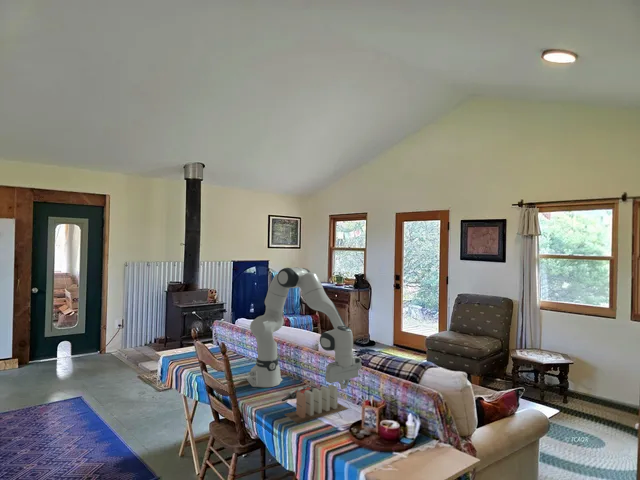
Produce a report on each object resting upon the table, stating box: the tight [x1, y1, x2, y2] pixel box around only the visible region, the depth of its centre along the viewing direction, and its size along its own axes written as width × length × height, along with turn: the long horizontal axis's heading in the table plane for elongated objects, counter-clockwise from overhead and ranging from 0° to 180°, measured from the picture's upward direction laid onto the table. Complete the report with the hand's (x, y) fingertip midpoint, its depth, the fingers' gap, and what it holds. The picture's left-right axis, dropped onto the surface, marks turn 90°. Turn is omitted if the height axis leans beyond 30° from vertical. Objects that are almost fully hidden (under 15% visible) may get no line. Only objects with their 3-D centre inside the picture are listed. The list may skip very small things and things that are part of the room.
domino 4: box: [320, 386, 330, 411], centre depth 201 cm, size 2×5×10 cm, turn 35°
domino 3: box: [312, 387, 322, 413], centre depth 198 cm, size 2×5×10 cm, turn 35°
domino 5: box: [327, 383, 338, 409], centre depth 204 cm, size 2×5×10 cm, turn 34°
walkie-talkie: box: [281, 385, 313, 402], centre depth 220 cm, size 9×4×20 cm
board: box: [283, 402, 349, 425], centre depth 198 cm, size 12×28×1 cm, turn 125°
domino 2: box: [305, 390, 314, 416], centre depth 196 cm, size 2×5×10 cm, turn 34°
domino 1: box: [295, 392, 306, 418], centre depth 193 cm, size 2×5×10 cm, turn 35°
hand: (343, 388), depth 207 cm, fingers closed
